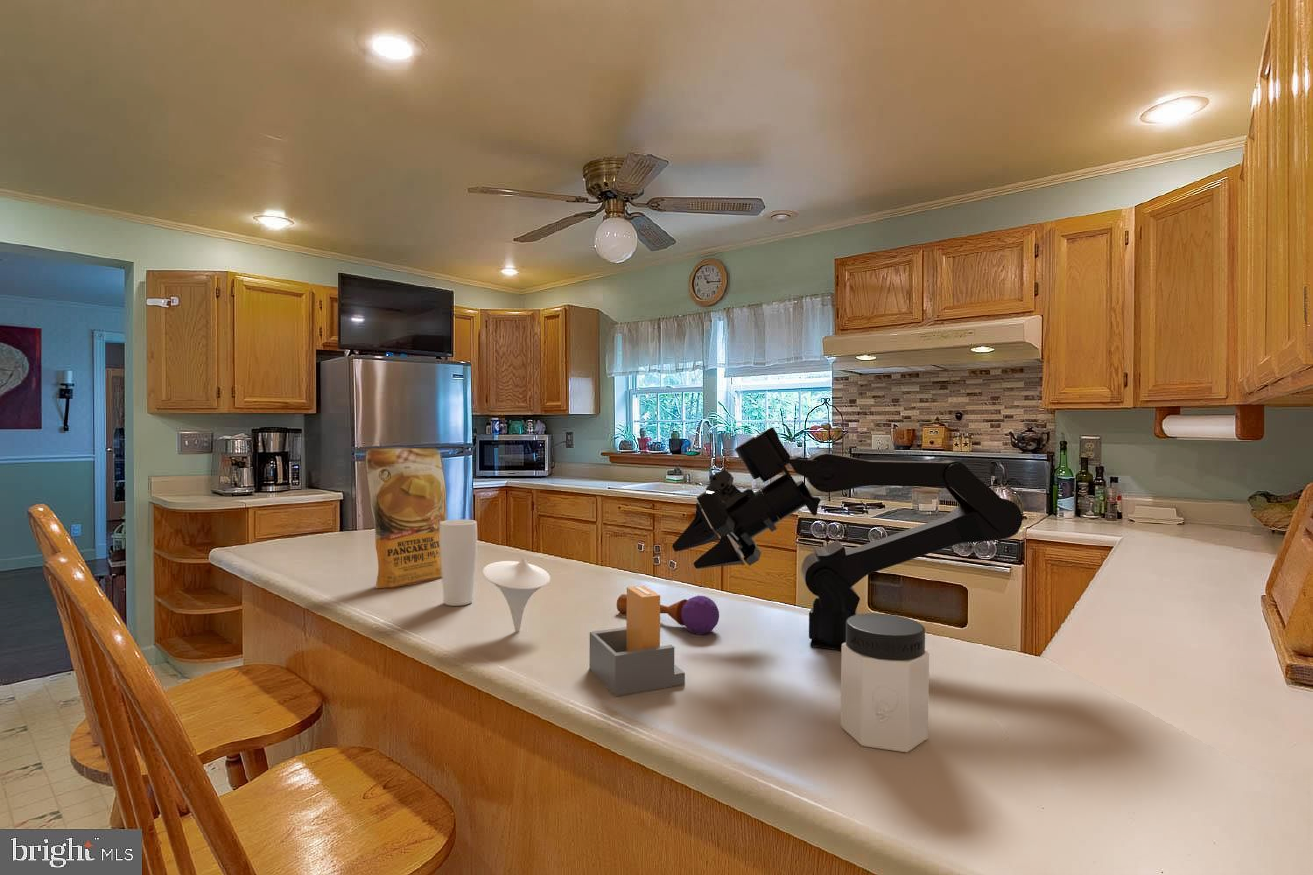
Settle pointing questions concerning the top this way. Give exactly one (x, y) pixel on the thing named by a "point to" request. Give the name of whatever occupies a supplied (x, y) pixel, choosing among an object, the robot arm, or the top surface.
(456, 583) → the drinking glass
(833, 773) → the top surface
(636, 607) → the breaker toggle
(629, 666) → the base
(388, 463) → the pancake mix bag
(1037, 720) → the top surface
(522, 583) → the white spinning top
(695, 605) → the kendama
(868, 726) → the jar
